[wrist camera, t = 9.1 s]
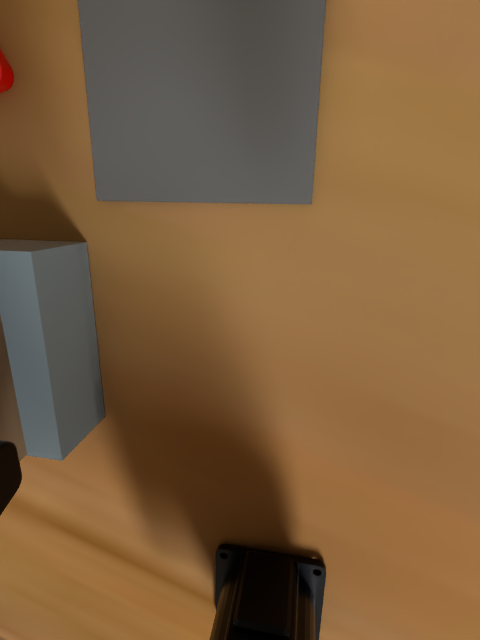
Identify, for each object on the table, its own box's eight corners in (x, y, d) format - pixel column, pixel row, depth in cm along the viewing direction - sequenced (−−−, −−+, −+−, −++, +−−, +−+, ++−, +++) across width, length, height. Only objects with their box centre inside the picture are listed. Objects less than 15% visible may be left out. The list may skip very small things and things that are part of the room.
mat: (311, 204, 16) (311, 204, 16) (101, 200, 18) (96, 200, 18) (331, -88, 13) (332, -97, 13) (77, -60, 15) (71, -67, 15)
